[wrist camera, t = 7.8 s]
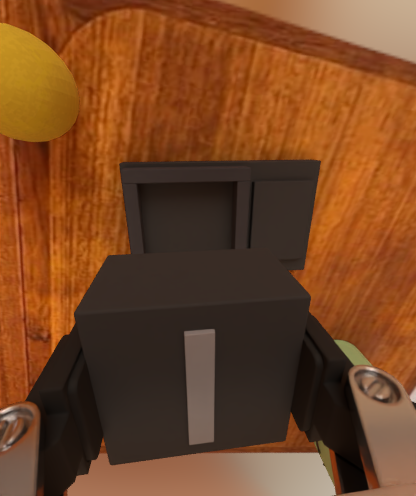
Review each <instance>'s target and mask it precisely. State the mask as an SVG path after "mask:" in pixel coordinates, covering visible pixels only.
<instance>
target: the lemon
mask: <svg viewBox="0 0 416 496" xmlns="http://www.w3.org/2000/svg"><path fill="white" fill-rule="evenodd" d="M79 105H80V99H79V93H78V88H77V85H76V83H75V80H74V78H73V75H72V74H71V72H70V70H69V69H68V67H67V66H66V64H65V63H64V61H63V60H62V59H61V58H60V57H59V56H58V55H57V54H56V53H55V52H54V51H53V50H52V49H51V48H50V47H49V46H48V45H47V44H45V43H44V42H43V41H41V40H40V39H38V38H37V37H35V36H34V35H32V34H31V33H29V32H27V31H24V30H22V29H19V28H16V27H14V26H11V25H9V24H5V23H0V133H1V134H3V135H6V136H8V137H10V138H13V139H18V140H23V141H29V142H41V141H50V140H53V139H55V138H58V137H61V136H62V135H63V134H65V133H66V132H67V131H69V130H70V129H71V127H72V126H73V124H74V123H75V122H76V119H77V116H78V113H79Z"/></svg>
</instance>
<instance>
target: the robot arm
mask: <svg viewBox="0 0 416 496" xmlns="http://www.w3.org/2000/svg"><path fill="white" fill-rule="evenodd" d="M291 412H292V415H293V417H294V419H295V422H296V424H297V426H298V428H299V430H300V431H305V433H306V436H307V438H308V440H309V442H315V441H322V442H323V444H324V445H325V446H326V447H328V448H329V454H330V460H331V466H332V472H333V479H334V485H335V491H336V495H334V496H416V403H414V402H412V401H411V400H410V398H409V396H408V394H407V392H406V390H405V389H404V387H403V386H402V384H401V383H400V382H399V381H398V380H397V379H396V378H394V377H393V376H392V375H390V374H389V373H387V372H386V371H384V370H381V369H379V368H377V367H374V366H370V365H356V366H354V364H353V363H352V362H351V361H350V360H349V358H348V357H347V356H346V355H345V353H344V352H343V351H342V350H341V349H340V347H339V346H338V345H337V344H336V342H335V341H334V340H333V339H332V338H331V336H330V335H329V334H328V333H327V331H326V330H325V329H324V328H323V327H322V325H321V324H320V323H319V322H318V320H317V319H316V318H315V317H314V316H313V315H311V313H310V312H308V317H307V323H306V329H305V334H304V339H303V344H302V349H301V355H300V361H299V366H298V372H297V378H296V383H295V389H294V395H293V400H292V406H291ZM103 435H104V434H103V430H102V426H101V422H100V418H99V413H98V409H97V405H96V401H95V397H94V392H93V388H92V384H91V380H90V376H89V372H88V367H87V363H86V360H85V359H84V354H83V350H82V346H81V342H80V338H79V334H78V329H77V325H76V323H75V325H74V327H73V329H72V331H71V332H70V334H69V335H65V336H63V337H62V338H61V340H60V342H59V343H58V345H57V347H56V348H55V350H54V352H53V354H52V355H51V357H50V359H49V361H48V362H47V364H46V366H45V367H44V369H43V371H42V373H41V374H40V376H39V378H38V380H37V381H36V383H35V385H34V386H33V388H32V390H31V392H30V393H29V395H28V397H27V399H26V400H25V401H22V402H16V403H13V404H9V405H7V406H5V407H3V408H1V409H0V496H67V489H68V488H69V487H70V486H71V484H73V483H74V482H75V479H76V476H78V475H84V474H88V472H89V468H90V464H91V460H96V459H97V457H98V455H99V451H100V447H101V443H102V439H103Z"/></svg>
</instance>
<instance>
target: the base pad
mask: <svg viewBox="0 0 416 496" xmlns="http://www.w3.org/2000/svg"><path fill="white" fill-rule="evenodd" d="M320 163H321V161H318V160H251V161H176V162H123V163H120V164H119V165H120V173H121V181H122V188H123V196H124V203H125V211H126V219H127V226H128V234H129V241H130V249H131V254H147V253H167V252H188V251H208V250H229V249H249V248H268V249H269V250H270V251H271V253H272V254H273V255H274V256H275V257H276V258H277V259H278V260H279V261H280V262H281V264H282V265H283V266H284V267H285V268H286V269H287V270H303V269H304V265H305V258H306V252H307V246H308V239H309V233H310V226H311V220H312V214H313V207H314V201H315V195H316V188H317V182H318V175H319V169H320Z"/></svg>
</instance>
